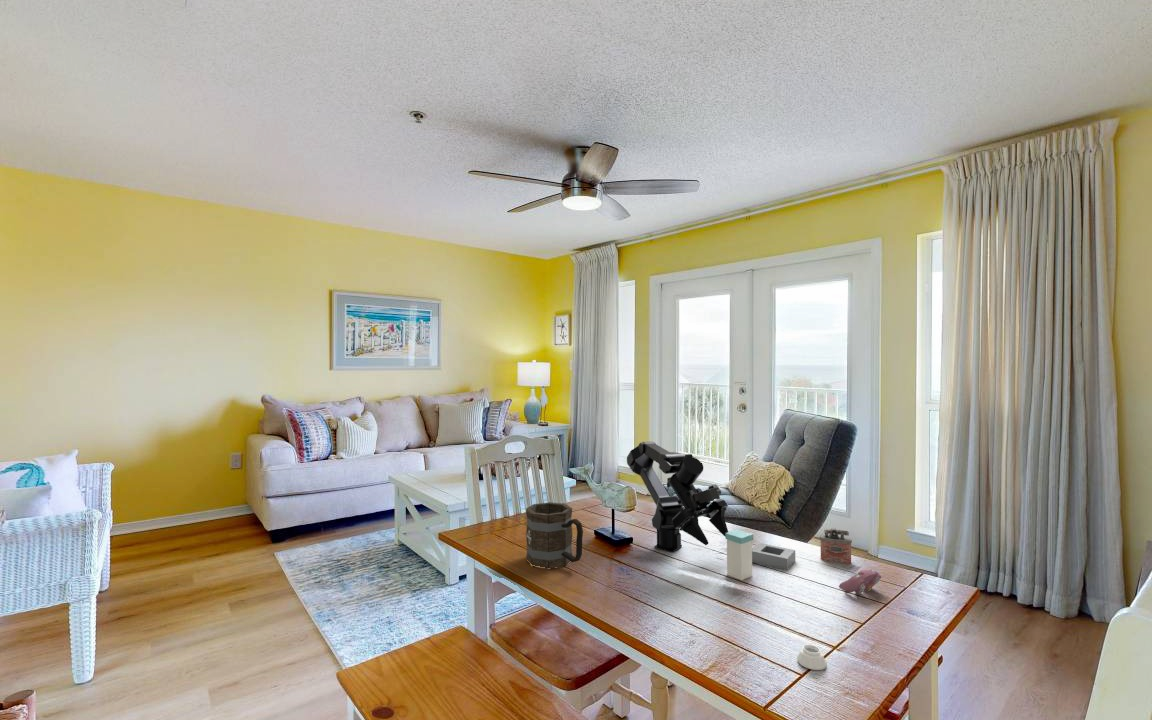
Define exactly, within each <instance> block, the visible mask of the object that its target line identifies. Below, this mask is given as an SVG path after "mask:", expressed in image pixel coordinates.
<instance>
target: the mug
mask: <svg viewBox="0 0 1152 720" xmlns="http://www.w3.org/2000/svg"><path fill="white" fill-rule="evenodd" d="M525 511H526V513H525V514H526V532H525V533H526V534H525V537H526V556H525V557H526V558H525V560H526V559H527V560H528V561H529V562H530V563H531V564H532V565H535V566H540V567H545V568H555V567H560V568H563V567H562V566H566V565H567V564H568V563H569V562H570V561H571V562H572V563H575V562H579V561H580V560H581V558H582V555H583V538H584V536H583V534H584V530H583V529H584V528H583V525H582V522H581V521H580V520H579V519H578V518H574V519H573V518H572V516H573V507H572V506H571V505H568V504H567V503H561V502H553V501H551V502H550V501H549V502H542V503H540V502H539V503H533V504H531V505H530V506H528V507H526V508H525ZM573 524H574V525H575V527H576V533H577V534H576V539H575V540H576V541H575V542H576V543H575V544H576V546H575V549H576V551H575V556H574V555H573V552H572V550H573V549H572V545H573V543H572V541H573V527H572V526H573ZM571 562H570V563H571ZM570 563H569V564H570ZM569 564H568V565H569ZM568 565H567V566H568ZM567 566H566V567H567ZM555 569H556V568H555Z"/></svg>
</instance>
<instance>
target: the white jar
mask: <svg viewBox="0 0 1152 720" xmlns="http://www.w3.org/2000/svg"><path fill="white" fill-rule="evenodd" d="M796 659H797V660H796V661H797V662H798V664H799V665H800V666H802V667H804V668H806V669H809V670H812V671H813V670H814V671H820V670H821V671H822V670H825V669H826V668H827V661H826V659H825V656H824V655H823V652H822V651H821V649H820V648H819V646H816V645H814V644H803V646H802V648H801V649H800V651H799V653H798V654H797V656H796Z"/></svg>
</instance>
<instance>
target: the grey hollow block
mask: <svg viewBox="0 0 1152 720" xmlns="http://www.w3.org/2000/svg"><path fill="white" fill-rule="evenodd" d="M795 562H796V549H792V548H787V547H782V546H776V545H771V544H768V543H762V542H758V544H756V545H755V546H754V547H752V563H755V564H757V565H758V564H759V565H763V566H766V567H767V566H768V567H772V568H776V569H780V570H785V571H788V570H789V569H790V568H791V567H792V566H793V564H794V563H795Z"/></svg>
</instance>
